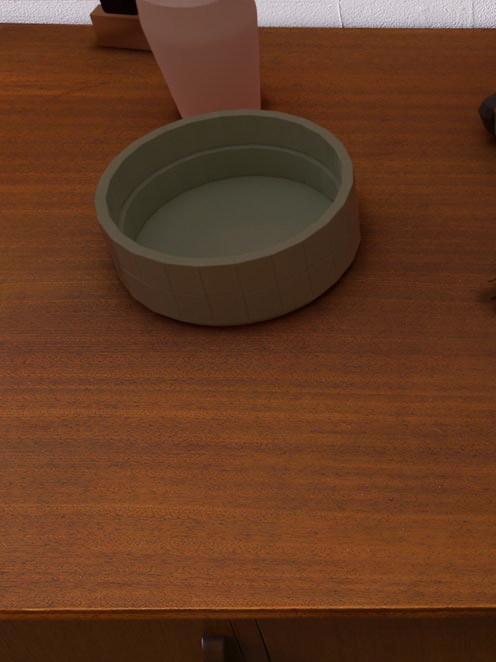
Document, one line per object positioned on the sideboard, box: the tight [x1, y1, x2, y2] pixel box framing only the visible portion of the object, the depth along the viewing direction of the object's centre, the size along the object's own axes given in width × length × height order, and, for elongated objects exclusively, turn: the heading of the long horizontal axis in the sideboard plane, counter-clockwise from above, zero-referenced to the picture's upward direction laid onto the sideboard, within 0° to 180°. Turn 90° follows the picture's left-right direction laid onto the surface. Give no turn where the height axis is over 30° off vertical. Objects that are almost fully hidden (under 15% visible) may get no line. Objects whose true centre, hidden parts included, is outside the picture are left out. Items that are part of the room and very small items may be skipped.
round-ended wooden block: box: [89, 3, 152, 52], centre depth 92 cm, size 10×3×3 cm, turn 82°
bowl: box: [93, 109, 362, 327], centre depth 72 cm, size 18×18×6 cm
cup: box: [136, 0, 262, 119], centre depth 82 cm, size 9×9×12 cm
